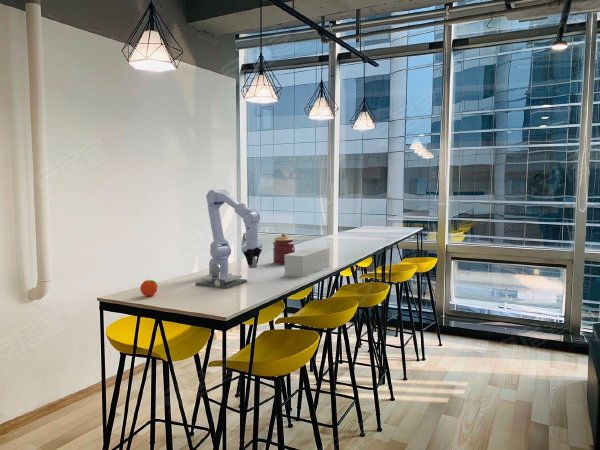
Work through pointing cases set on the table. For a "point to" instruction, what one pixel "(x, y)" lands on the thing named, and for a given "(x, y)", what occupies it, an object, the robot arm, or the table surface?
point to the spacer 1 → (215, 270)
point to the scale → (221, 283)
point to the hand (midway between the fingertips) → (252, 264)
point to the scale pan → (222, 277)
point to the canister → (282, 248)
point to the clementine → (148, 287)
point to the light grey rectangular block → (306, 261)
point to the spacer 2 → (254, 262)
